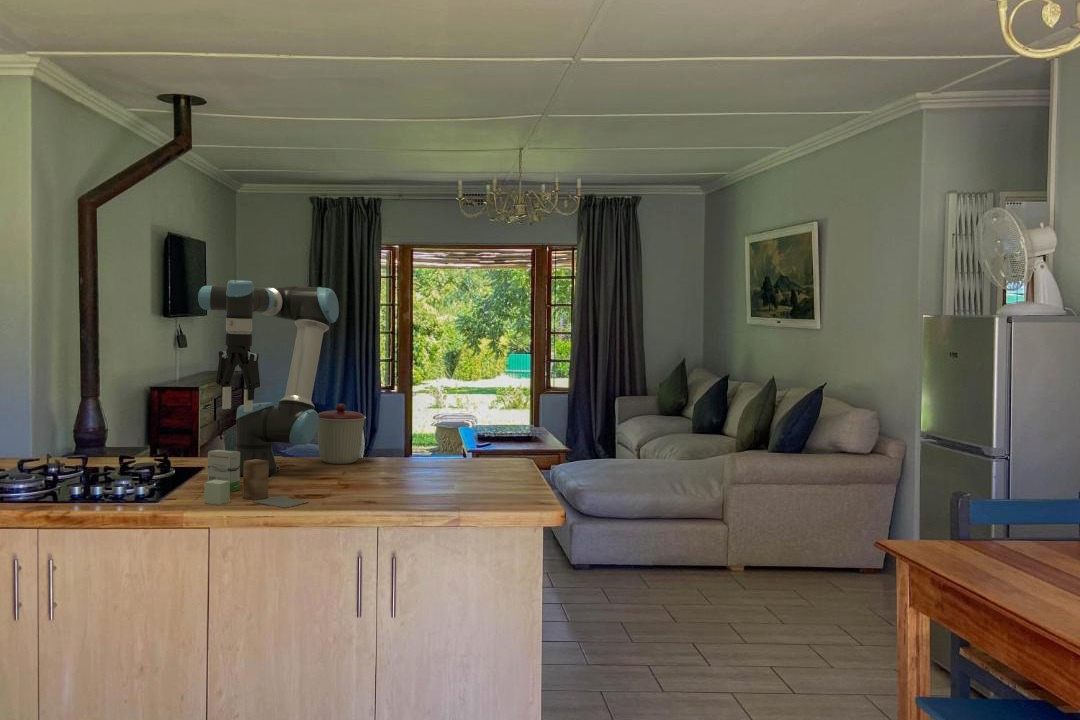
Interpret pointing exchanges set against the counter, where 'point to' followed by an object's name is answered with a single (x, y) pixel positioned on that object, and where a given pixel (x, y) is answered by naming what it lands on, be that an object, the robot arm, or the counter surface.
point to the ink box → (224, 467)
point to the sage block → (217, 492)
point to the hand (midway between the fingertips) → (237, 409)
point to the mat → (280, 501)
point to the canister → (340, 435)
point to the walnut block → (255, 479)
